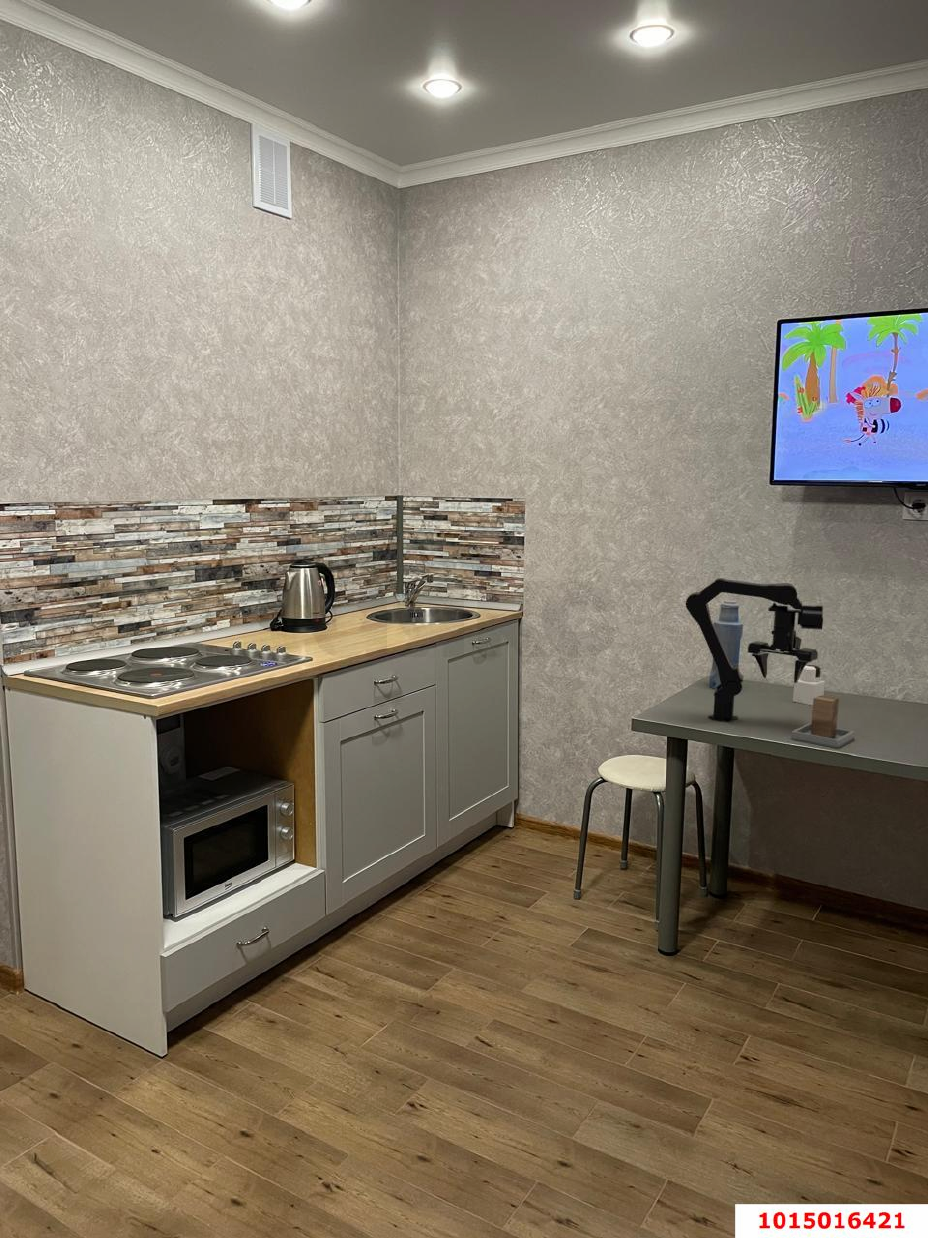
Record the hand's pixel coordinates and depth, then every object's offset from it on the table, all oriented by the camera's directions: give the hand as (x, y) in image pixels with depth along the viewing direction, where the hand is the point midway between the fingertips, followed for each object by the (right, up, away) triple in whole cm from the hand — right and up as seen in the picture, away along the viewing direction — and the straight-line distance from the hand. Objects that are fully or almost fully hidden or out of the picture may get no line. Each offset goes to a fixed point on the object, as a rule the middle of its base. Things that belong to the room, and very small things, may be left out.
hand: (780, 680), depth 269 cm
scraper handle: (+7, -15, -14) cm, 21 cm away
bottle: (-3, -6, +49) cm, 49 cm away
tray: (+7, -15, -14) cm, 22 cm away
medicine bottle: (+19, -9, +30) cm, 37 cm away
